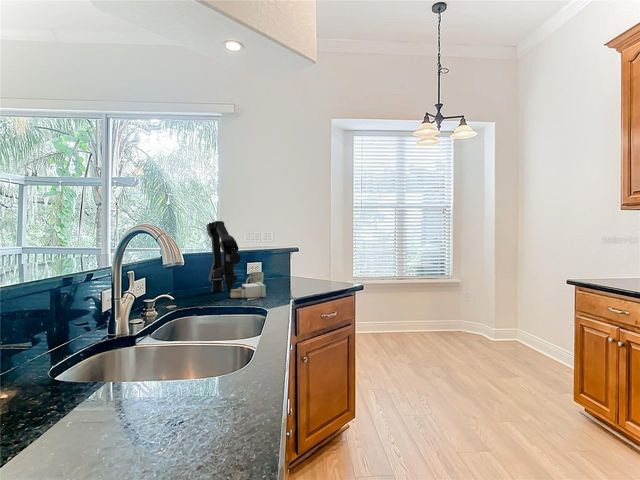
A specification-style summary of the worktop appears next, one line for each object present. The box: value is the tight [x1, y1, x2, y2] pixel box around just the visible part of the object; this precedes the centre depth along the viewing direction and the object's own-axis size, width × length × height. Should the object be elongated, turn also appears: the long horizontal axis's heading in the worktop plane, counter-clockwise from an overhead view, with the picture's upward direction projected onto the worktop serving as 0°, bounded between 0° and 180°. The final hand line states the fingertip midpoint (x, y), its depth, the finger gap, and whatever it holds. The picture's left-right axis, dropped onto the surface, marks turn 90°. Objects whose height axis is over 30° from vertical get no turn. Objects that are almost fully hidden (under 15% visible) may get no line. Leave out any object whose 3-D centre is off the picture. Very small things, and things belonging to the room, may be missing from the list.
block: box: [237, 283, 261, 299], centre depth 198 cm, size 10×10×6 cm
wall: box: [256, 282, 267, 298], centre depth 201 cm, size 14×2×6 cm, turn 23°
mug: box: [245, 271, 264, 284], centre depth 215 cm, size 8×13×10 cm, turn 148°
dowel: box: [229, 288, 243, 299], centre depth 196 cm, size 4×12×4 cm, turn 113°
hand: (228, 292), depth 194 cm, fingers closed
